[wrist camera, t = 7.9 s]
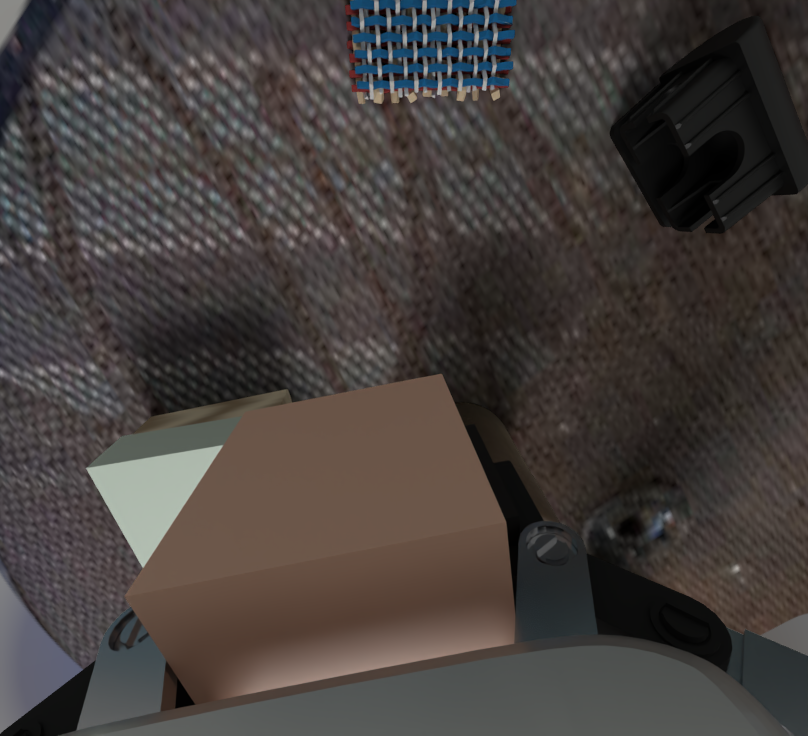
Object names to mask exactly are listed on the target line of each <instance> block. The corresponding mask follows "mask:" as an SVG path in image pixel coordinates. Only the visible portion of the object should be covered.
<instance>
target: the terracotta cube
mask: <svg viewBox="0 0 808 736" xmlns="http://www.w3.org/2000/svg"><path fill="white" fill-rule="evenodd" d="M125 598H126V600H127V602H128V603H129V605H130V606H131V608H132V609H133V611H134V612H135V614H136V615H137V617H138V618H139V620H140V621H141V623H142V624H143V626H144V627H145V629H146V630H147V632H148V633H149V635H150V636H151V638H152V639H153V641H154V642H155V644H156V646H157V647H158V649H159V650H160V652H161V653H162V655H163V656H164V658H165V659H166V661H167V662H168V664H169V665H170V667H171V668H172V670H173V671H174V673H175V674H176V676H177V677H178V679H179V680H180V682H181V683H182V685H183V686H184V688H185V690H186V691H187V693H188V694H189V696H190V697H191V699H192V700H193V702H194V703H195V705H196V704H201V703H206V702H211V701H216V700H221V699H226V698H231V697H236V696H241V695H246V694H251V693H256V692H261V691H266V690H271V689H276V688H282V687H287V686H292V685H297V684H302V683H307V682H312V681H317V680H322V679H327V678H333V677H338V676H343V675H348V674H353V673H358V672H364V671H369V670H374V669H379V668H384V667H390V666H395V665H400V664H406V663H411V662H416V661H421V660H427V659H432V658H437V657H443V656H448V655H453V654H458V653H464V652H469V651H474V650H480V649H486V648H492V647H498V646H504V645H510V644H514V637H515V606H514V596H513V586H512V575H511V565H510V555H509V545H508V535H507V525H506V520H505V518H504V516H503V513H502V511H501V509H500V507H499V504H498V502H497V500H496V497H495V495H494V493H493V490H492V488H491V486H490V484H489V481H488V479H487V477H486V474H485V472H484V470H483V467H482V465H481V463H480V460H479V458H478V456H477V454H476V451H475V449H474V447H473V444H472V442H471V440H470V437H469V435H468V433H467V431H466V428H465V426H464V424H463V421H462V419H461V417H460V414H459V412H458V410H457V408H456V405H455V403H454V401H453V398H452V396H451V394H450V391H449V389H448V387H447V384H446V382H445V380H444V378H443V375H442V374H437V375H432V376H427V377H422V378H417V379H411V380H406V381H401V382H396V383H391V384H386V385H381V386H375V387H370V388H365V389H360V390H355V391H350V392H345V393H339V394H334V395H329V396H324V397H319V398H314V399H309V400H303V401H298V402H293V403H288V404H283V405H278V406H273V407H267V408H262V409H257V410H252V411H247V412H245V413H244V414H243V416H242V417H241V419H240V421H239V422H238V424H237V425H236V427H235V428H234V430H233V431H232V433H231V434H230V436H229V437H228V439H227V440H226V442H225V444H224V445H223V447H222V448H221V450H220V451H219V453H218V454H217V456H216V457H215V459H214V460H213V462H212V463H211V465H210V466H209V468H208V470H207V471H206V473H205V474H204V476H203V477H202V479H201V480H200V482H199V483H198V485H197V486H196V488H195V489H194V491H193V492H192V494H191V496H190V497H189V499H188V500H187V502H186V503H185V505H184V506H183V508H182V509H181V511H180V512H179V514H178V515H177V517H176V519H175V520H174V522H173V523H172V525H171V526H170V528H169V529H168V531H167V532H166V534H165V535H164V537H163V538H162V540H161V541H160V543H159V545H158V546H157V548H156V549H155V551H154V552H153V554H152V555H151V557H150V558H149V560H148V561H147V563H146V564H145V566H144V568H143V569H142V571H141V572H140V574H139V575H138V577H137V578H136V580H135V581H134V583H133V584H132V586H131V587H130V589H129V590H128V592H127V594H126V595H125Z"/></svg>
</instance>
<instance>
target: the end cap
mask: <svg viewBox="0 0 808 736" xmlns="http://www.w3.org/2000/svg"><path fill="white" fill-rule="evenodd" d="M610 136H611V139H612V141H613V142H614V144H615V146H616V148H617V150H618V151H619V153H620V155H621V157H622V158H623V160H624V162H625V164H626V165H627V167H628V169H629V171H630V172H631V174H632V176H633V178H634V179H635V181H636V183H637V185H638V187H639V188H640V190H641V192H642V194H643V195H644V197H645V199H646V201H647V202H648V204H649V206H650V208H651V209H652V211H653V213H654V215H655V217H656V218H657V220H658V222H659V224H660V225H661V226H662V227H673V228H674V229H676V230H678V231H686V232H692V231H693V230H695V229H696V228H697V227H698V226H700V225H701V224H702V223H703V222H705V221H706V220H707V219H708V218H710V217H711V216H712V215H713V216H714V218H715V220H713V221H712V222H711V223H710V224H708V225H707V226H706V227H705V228H704V229H705V231H706V233H719V234H720V233H724V232H725V231H726V230H728V229H729V228H730V227H732V226H733V225H734V224H735V223H737V222H738V221H739V220H740V219H742V218H743V217H744V216H746V215H747V214H748V213H749V212H751V211H752V210H753V209H754V208H756V207H757V206H758V205H760V204H761V203H762V202H763V201H765V200H766V199H767V198H768V197H770V196H771V195H791V194H797V193H798V192H800V191H801V190H802V189H803V188H804V187H805V186H806V185H807V184H808V142H807V139H806V137H805V134H804V131H803V129H802V126H801V123H800V120H799V118H798V115H797V112H796V110H795V107H794V104H793V102H792V99H791V96H790V94H789V91H788V88H787V86H786V83H785V80H784V78H783V75H782V72H781V70H780V67H779V64H778V62H777V59H776V56H775V54H774V51H773V48H772V46H771V43H770V40H769V38H768V35H767V32H766V30H765V27H764V24H763V21H762V19H761V18H760V17H759V16H751V17H748V18H746V19H743V20H741V21H739V22H737V23H735V24H733V25H731V26H729V27H728V28H726V29H724V30H723V31H721V32H719V33H718V34H716V35H715V36H713V37H712V38H710V39H709V40H707V41H706V42H704V43H703V44H701V45H700V46H699V47H697V48H696V49H694V50H693V51H692V52H690V53H689V54H688V55H686V56H685V57H684V58H682V59H681V60H680V61H679V62H677V63H676V64H675V65H674V66H672V67H671V68H670V69H669V70H668V71H667V72H665V73H664V74H663V75H662V76H661V77H660V84H659V85H658V86H656V87H655V88H654V89H653V90H652V91H651V92H649V93H648V94H647V95H646V96H645V97H644V98H643V99H642V100H641V101H640V102H638V103H637V104H636V105H635V106H634V107H633V108H632V109H631V110H630V111H628V112H627V113H626V114H625V115H624V116H623V117H622V118H621V119H620V120H619V121H617V122H616V123H615V124H614V125H613V127H612V128H611V131H610Z"/></svg>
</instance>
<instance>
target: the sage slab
mask: <svg viewBox="0 0 808 736" xmlns="http://www.w3.org/2000/svg"><path fill="white" fill-rule="evenodd" d="M241 417H242V416H240V417H234V418H228V419H222V420H216V421H210V422H204V423H198V424H192V425H186V426H180V427H174V428H168V429H162V430H156V431H150V432H144V433H138V434H132V435H126V436H121V437H120V438H119V439H118V440H117V441H116V442H115V443H114V444H113V445H111V446H110V447H109V448H108V449H107V450H106V451H105V452H104V453H103V454H101V455H100V456H99V457H98V458H97V459H96V460H95V461H94V462H92V463H91V464H90V465H89V466H88V467H87V468H86V469H87V471H88V472H89V474H90V476H91V478H92V479H93V481H94V483H95V485H96V486H97V488H98V490H99V492H100V493H101V495H102V497H103V499H104V500H105V502H106V504H107V506H108V507H109V509H110V511H111V513H112V514H113V516H114V518H115V520H116V521H117V523H118V525H119V527H120V529H121V530H122V532H123V534H124V536H125V537H126V539H127V541H128V543H129V544H130V546H131V548H132V550H133V551H134V553H135V555H136V557H137V558H138V560H139V562H140V564H141V565H142V567H143V568H144V566H145V564H146V563H147V561H148V560H149V558H150V557H151V555H152V554H153V552H154V551H155V549H156V548H157V546H158V545H159V543H160V541H161V540H162V538H163V537H164V535H165V534H166V532H167V531H168V529H169V528H170V526H171V525H172V523H173V522H174V520H175V519H176V517H177V515H178V514H179V512H180V511H181V509H182V508H183V506H184V505H185V503H186V502H187V500H188V499H189V497H190V496H191V494H192V492H193V491H194V489H195V488H196V486H197V485H198V483H199V482H200V480H201V479H202V477H203V476H204V474H205V473H206V471H207V470H208V468H209V466H210V465H211V463H212V462H213V460H214V459H215V457H216V456H217V454H218V453H219V451H220V450H221V448H222V447H223V445H224V444H225V442H226V440H227V439H228V437H229V436H230V434H231V433H232V431H233V430H234V428H235V427H236V425H237V424H238V422H239V421H240V419H241Z"/></svg>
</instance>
